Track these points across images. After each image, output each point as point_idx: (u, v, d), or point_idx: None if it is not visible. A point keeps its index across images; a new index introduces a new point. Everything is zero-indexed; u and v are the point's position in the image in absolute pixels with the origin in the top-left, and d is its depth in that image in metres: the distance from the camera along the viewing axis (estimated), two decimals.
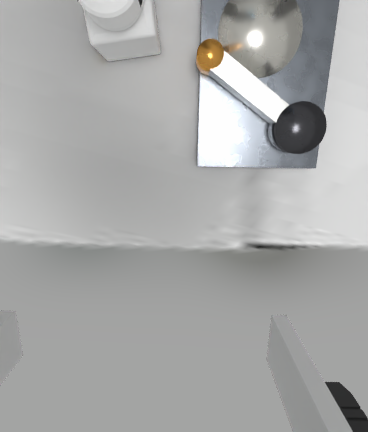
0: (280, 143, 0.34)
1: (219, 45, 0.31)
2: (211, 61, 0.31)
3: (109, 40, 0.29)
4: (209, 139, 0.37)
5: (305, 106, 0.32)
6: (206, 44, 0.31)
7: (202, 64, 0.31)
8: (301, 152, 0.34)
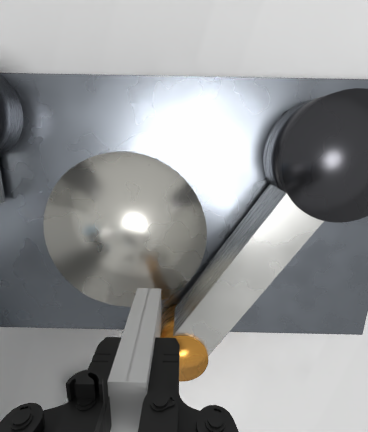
0: None
1: None
2: (195, 358, 0.16)
3: None
4: (314, 314, 0.19)
5: (294, 155, 0.13)
6: None
7: (200, 372, 0.16)
8: None
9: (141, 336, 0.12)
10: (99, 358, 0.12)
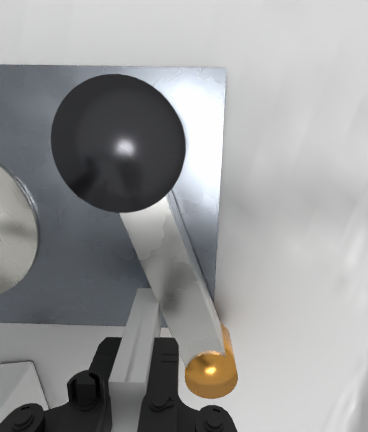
0: (182, 144, 0.12)
1: (188, 379, 0.16)
2: (217, 368, 0.16)
3: None
4: None
5: (85, 189, 0.13)
6: (208, 392, 0.16)
7: (234, 372, 0.16)
8: (144, 85, 0.12)
9: (142, 336, 0.12)
10: (100, 358, 0.12)
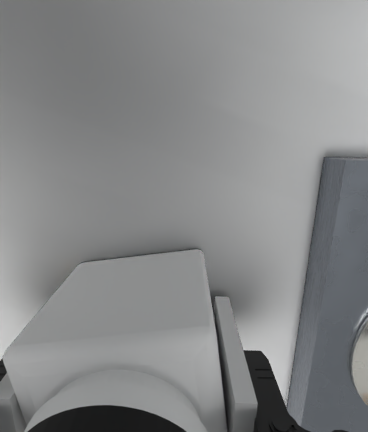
0: None
1: None
2: None
3: None
4: None
5: None
6: None
7: None
8: None
9: None
10: None
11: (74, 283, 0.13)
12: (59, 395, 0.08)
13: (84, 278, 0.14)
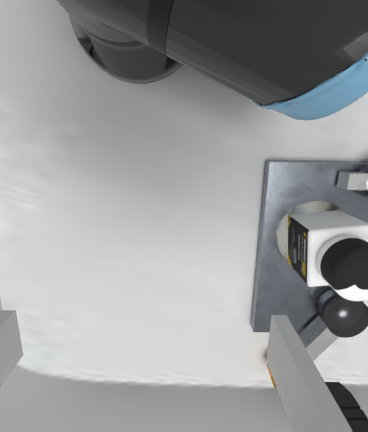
0: (358, 333, 0.39)
1: None
2: None
3: None
4: (265, 312, 0.42)
5: (331, 317, 0.39)
6: None
7: None
8: None
9: None
10: None
11: (301, 219, 0.35)
12: (335, 239, 0.30)
13: (303, 218, 0.36)
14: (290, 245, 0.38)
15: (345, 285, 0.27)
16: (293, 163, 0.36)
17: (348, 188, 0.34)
